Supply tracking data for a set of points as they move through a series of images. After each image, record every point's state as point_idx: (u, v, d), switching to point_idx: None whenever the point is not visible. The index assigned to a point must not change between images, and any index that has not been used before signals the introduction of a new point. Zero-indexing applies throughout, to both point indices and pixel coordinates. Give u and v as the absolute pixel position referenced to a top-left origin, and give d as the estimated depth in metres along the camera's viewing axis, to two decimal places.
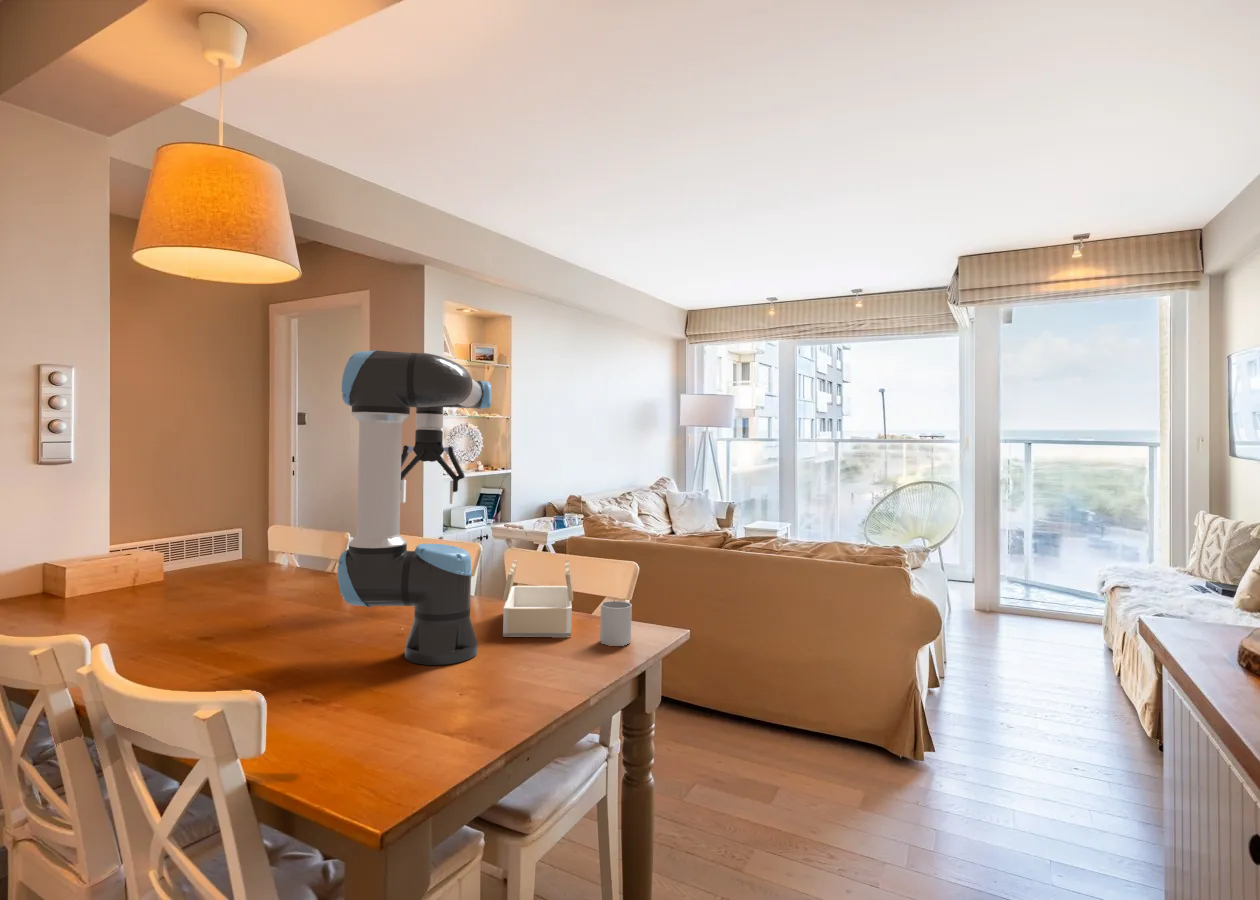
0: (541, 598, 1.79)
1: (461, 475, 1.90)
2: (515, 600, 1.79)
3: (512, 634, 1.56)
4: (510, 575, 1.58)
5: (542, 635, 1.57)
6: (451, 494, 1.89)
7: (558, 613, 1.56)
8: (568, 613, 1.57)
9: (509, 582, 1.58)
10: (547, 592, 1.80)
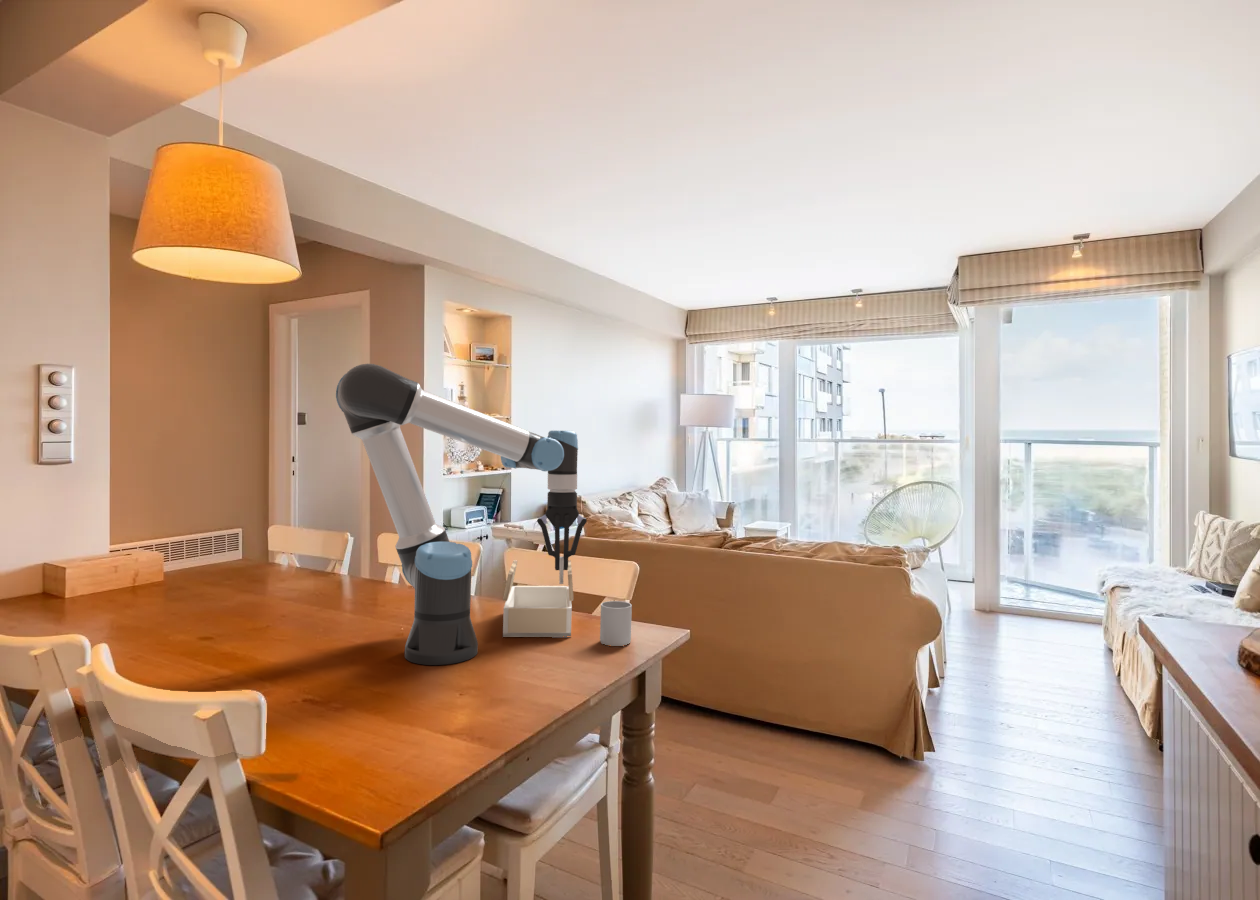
0: (541, 598, 1.79)
1: (574, 552, 1.68)
2: (515, 600, 1.79)
3: (512, 634, 1.56)
4: (510, 575, 1.58)
5: (542, 635, 1.57)
6: (562, 573, 1.68)
7: (558, 613, 1.56)
8: (568, 613, 1.57)
9: (509, 582, 1.58)
10: (547, 592, 1.80)
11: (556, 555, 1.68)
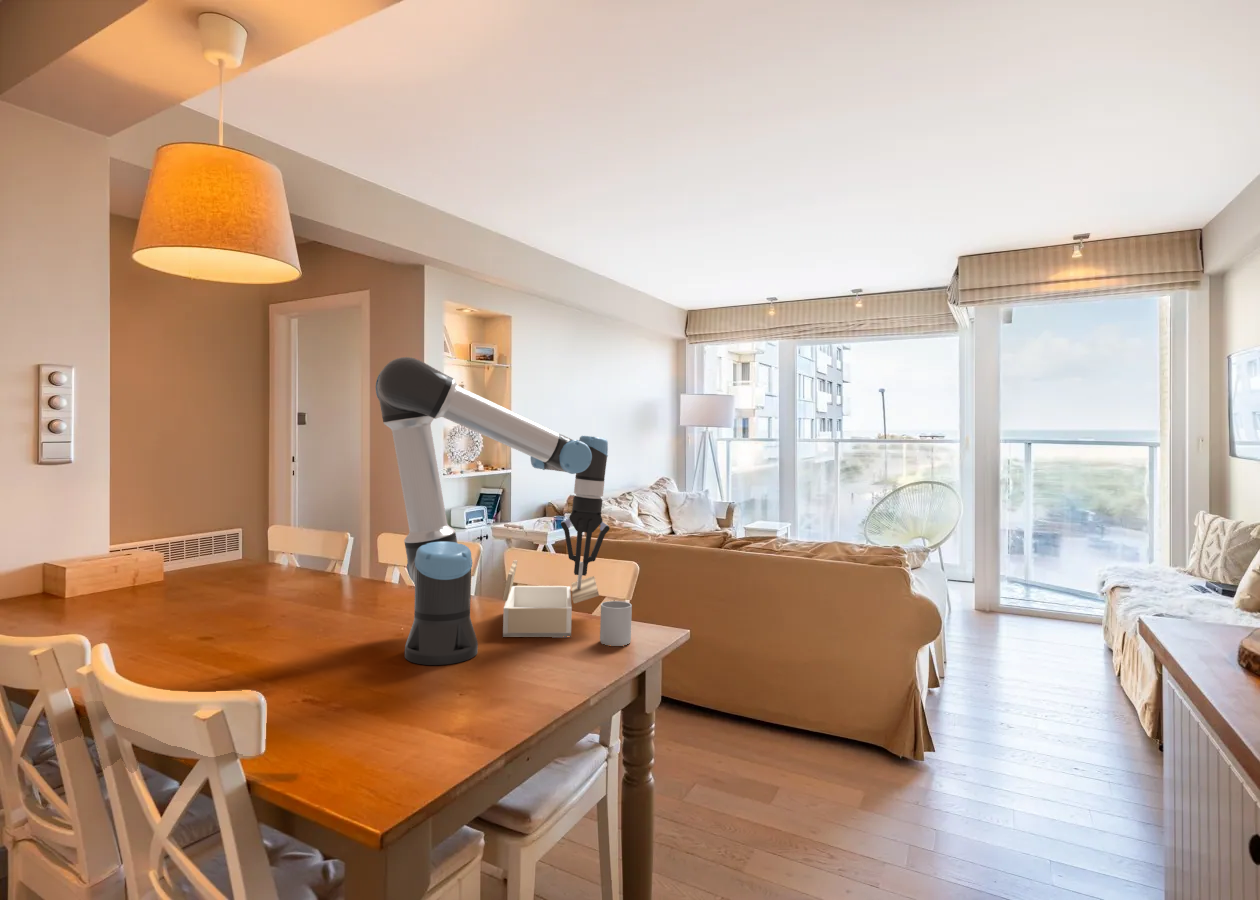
0: (541, 598, 1.79)
1: (594, 558, 1.69)
2: (515, 600, 1.79)
3: (512, 634, 1.56)
4: (510, 575, 1.58)
5: (542, 635, 1.57)
6: (580, 578, 1.68)
7: (558, 613, 1.56)
8: (568, 613, 1.57)
9: (509, 582, 1.58)
10: (547, 592, 1.80)
11: (576, 560, 1.68)
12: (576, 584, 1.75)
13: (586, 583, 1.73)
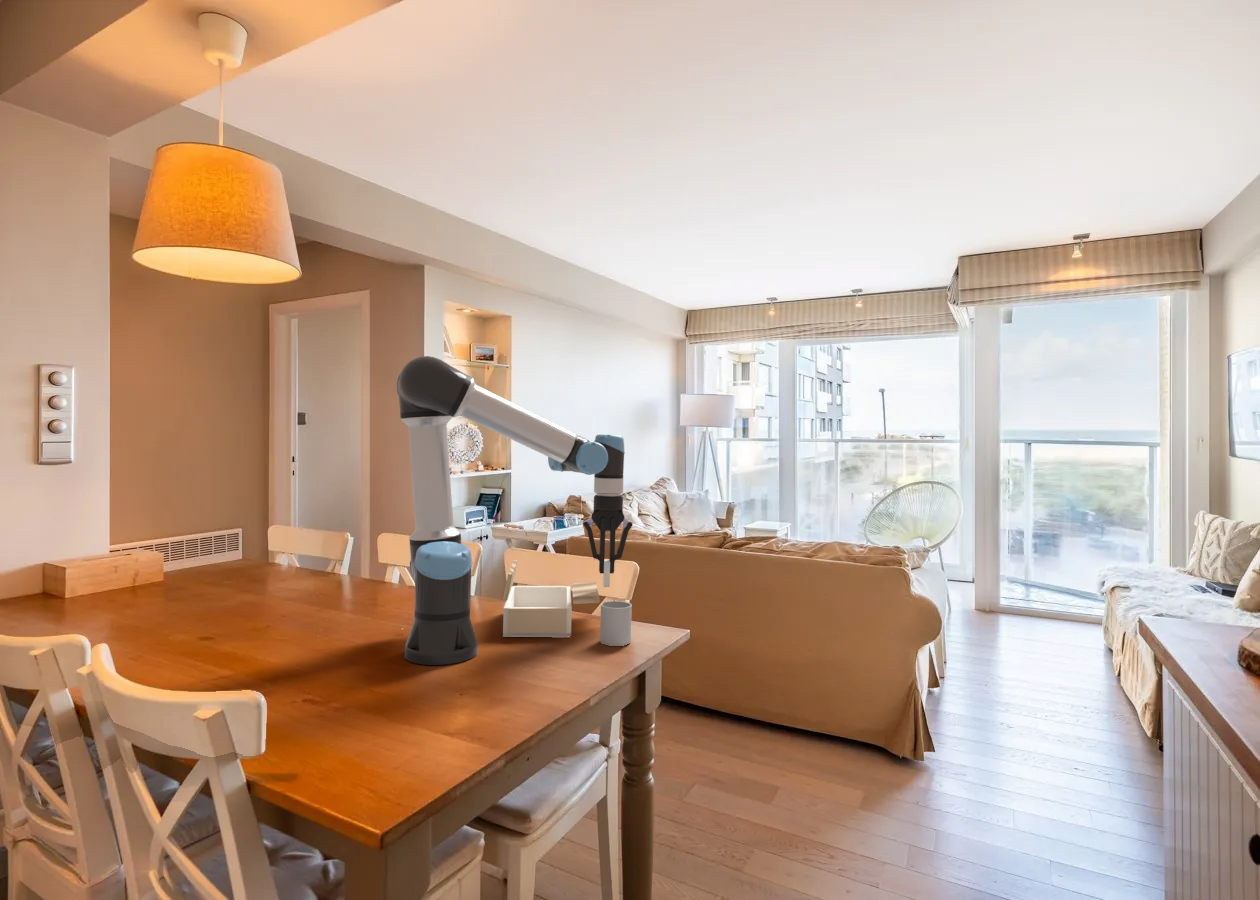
0: (541, 598, 1.79)
1: (620, 555, 1.69)
2: (515, 600, 1.79)
3: (512, 634, 1.56)
4: (510, 575, 1.58)
5: (542, 635, 1.57)
6: (608, 576, 1.69)
7: (558, 613, 1.56)
8: (568, 613, 1.57)
9: (509, 582, 1.58)
10: (547, 592, 1.80)
11: (601, 558, 1.69)
12: (577, 586, 1.75)
13: (587, 587, 1.73)
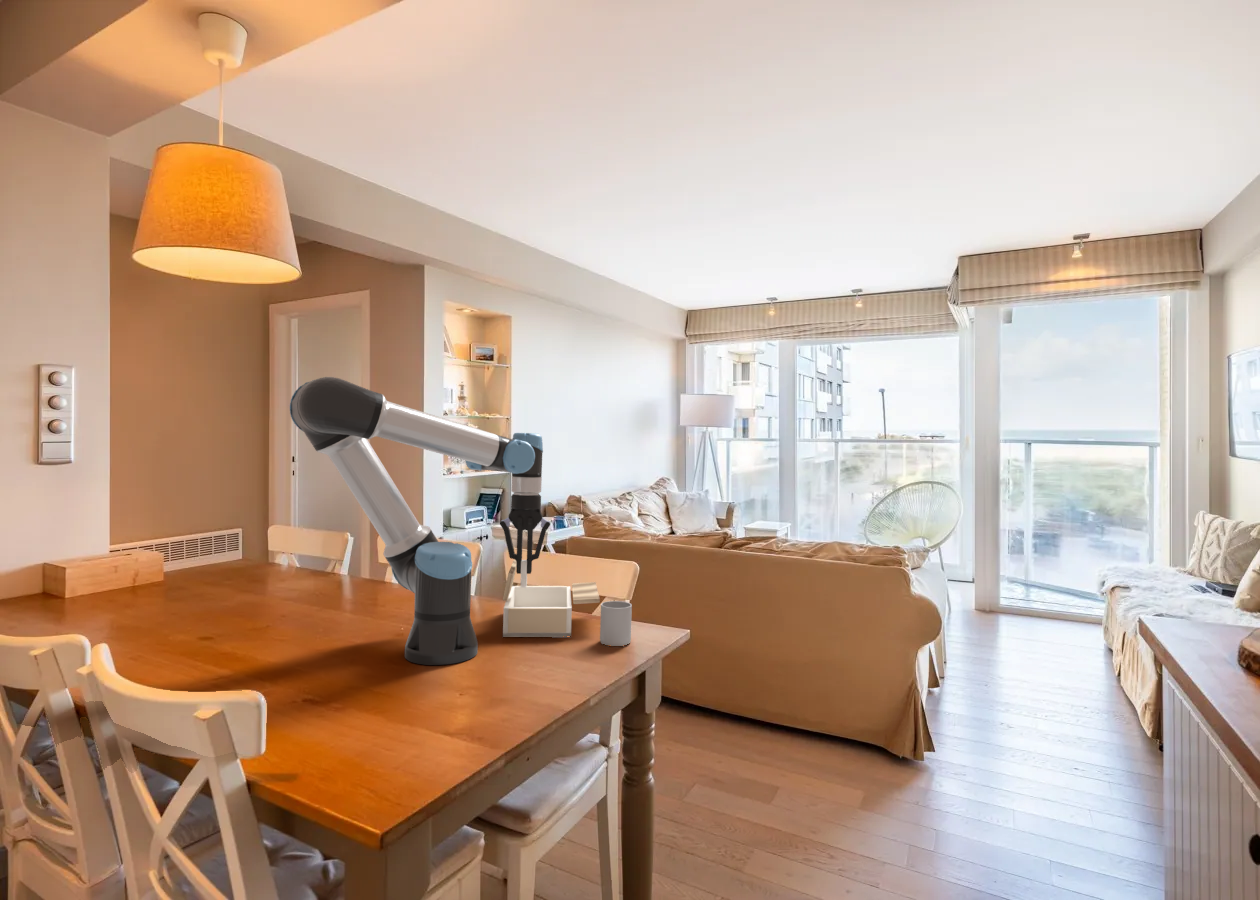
0: (541, 598, 1.79)
1: (537, 555, 1.67)
2: (515, 600, 1.79)
3: (512, 634, 1.56)
4: (510, 575, 1.58)
5: (542, 635, 1.57)
6: (525, 576, 1.67)
7: (558, 613, 1.56)
8: (568, 613, 1.57)
9: (509, 582, 1.58)
10: (547, 592, 1.80)
11: (517, 558, 1.66)
12: (577, 586, 1.75)
13: (587, 587, 1.73)
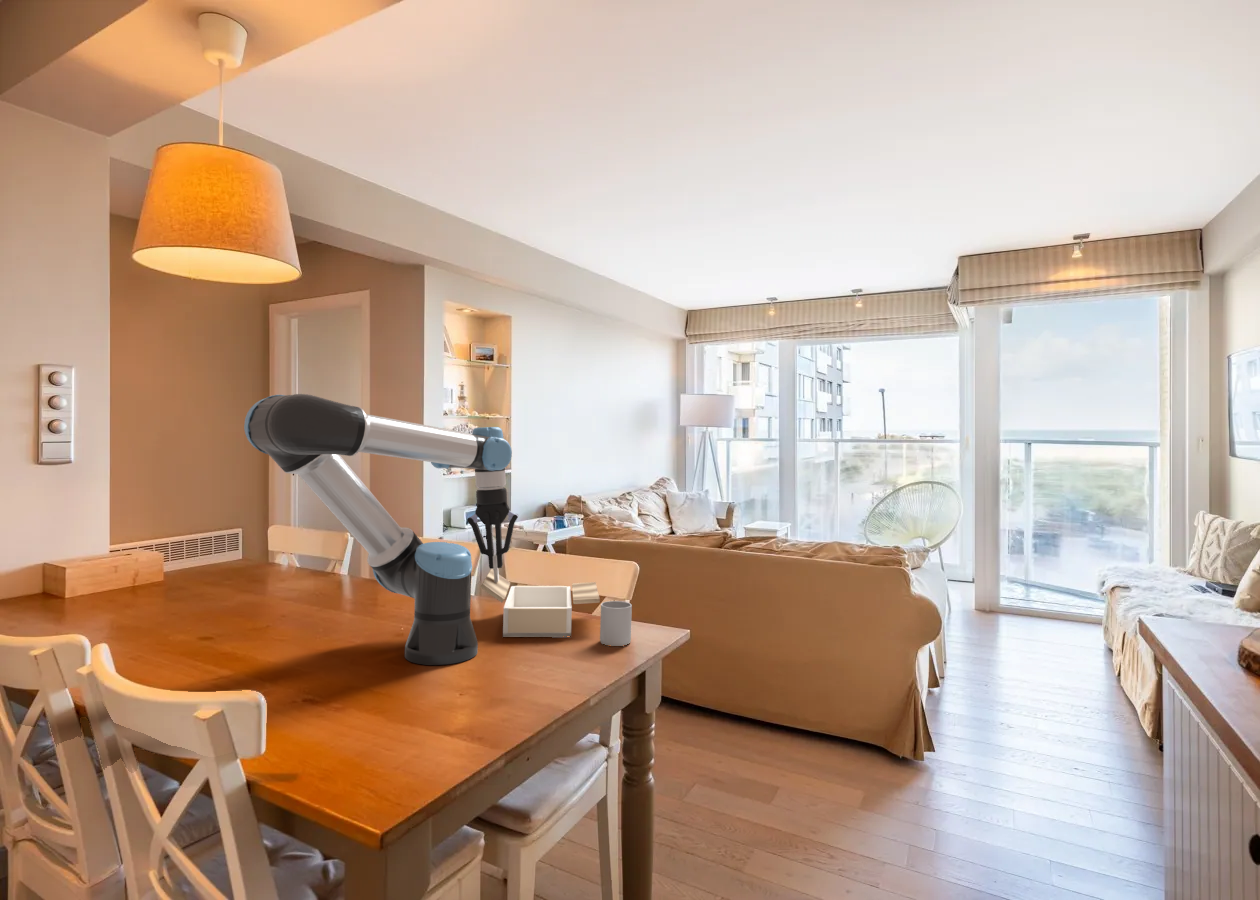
0: (541, 598, 1.79)
1: (506, 549, 1.66)
2: (515, 600, 1.79)
3: (512, 634, 1.56)
4: (482, 585, 1.58)
5: (542, 635, 1.57)
6: (496, 571, 1.66)
7: (558, 613, 1.56)
8: (568, 613, 1.57)
9: (488, 589, 1.58)
10: (547, 592, 1.80)
11: (489, 553, 1.66)
12: (577, 586, 1.75)
13: (587, 587, 1.73)
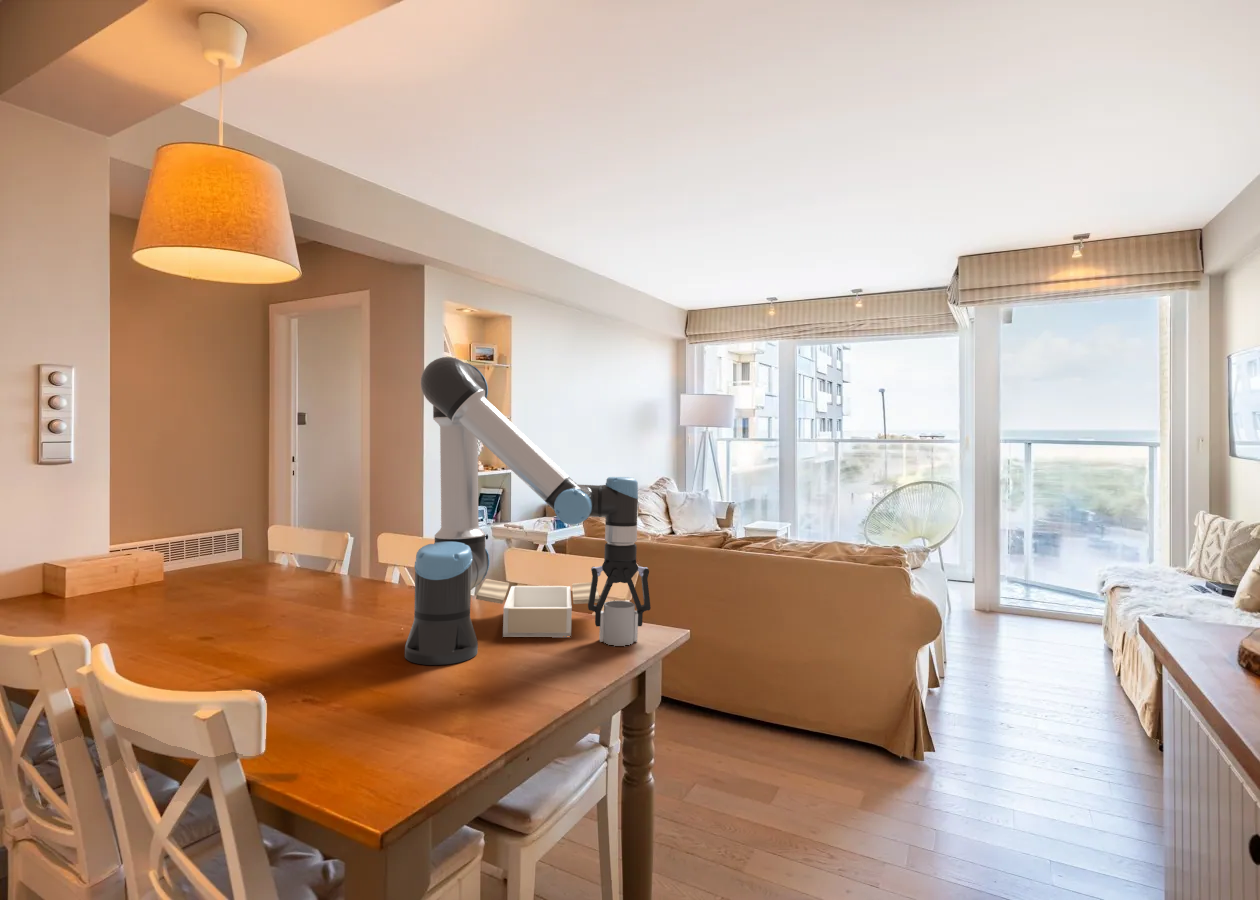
0: (541, 598, 1.79)
1: (648, 606, 1.55)
2: (515, 600, 1.79)
3: (512, 634, 1.56)
4: (477, 596, 1.57)
5: (542, 635, 1.57)
6: (636, 630, 1.55)
7: (558, 613, 1.56)
8: (568, 613, 1.57)
9: (484, 597, 1.58)
10: (547, 592, 1.80)
11: (597, 610, 1.54)
12: (577, 586, 1.75)
13: (587, 587, 1.73)
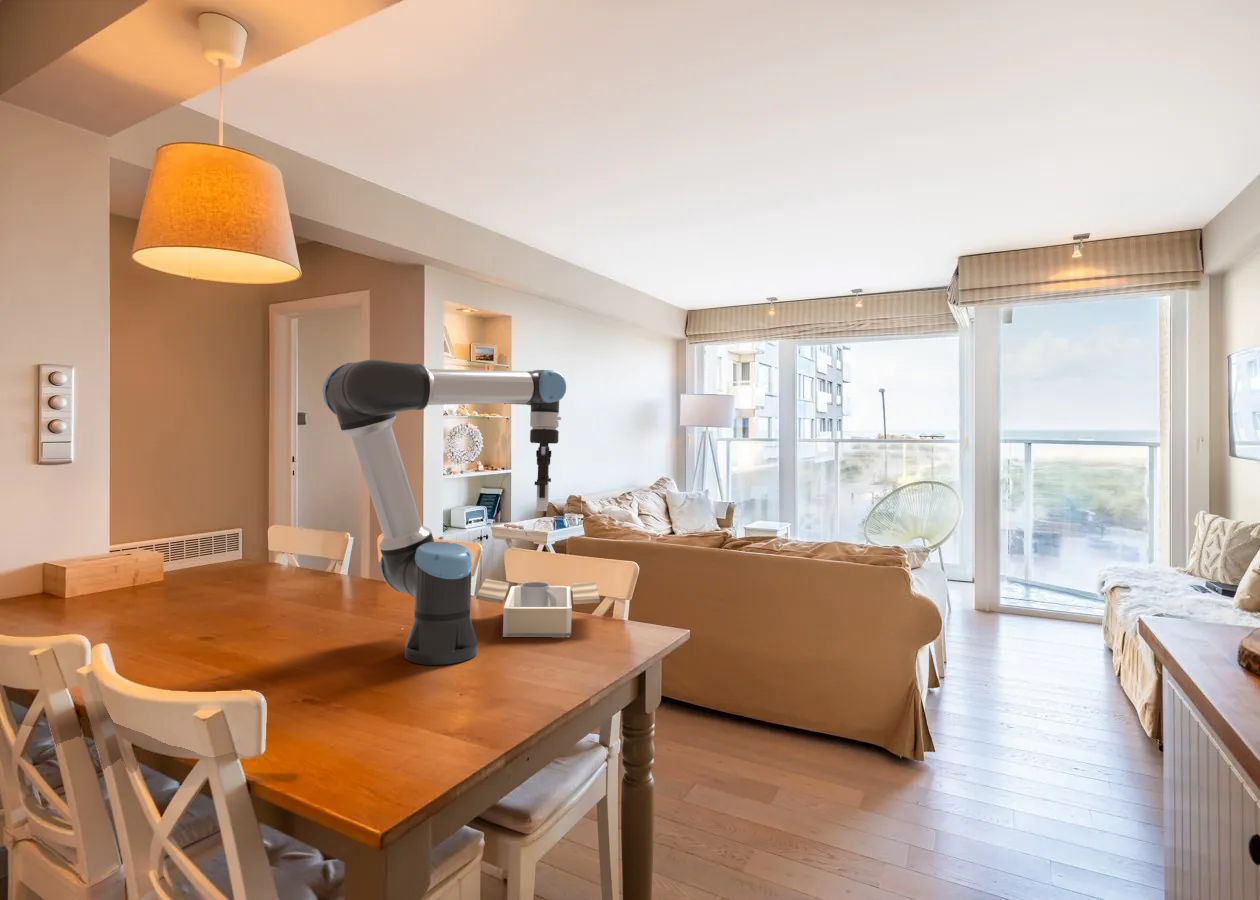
0: None
1: (537, 479, 1.67)
2: (515, 600, 1.79)
3: (512, 634, 1.56)
4: (477, 596, 1.57)
5: (542, 635, 1.57)
6: None
7: (558, 613, 1.56)
8: (568, 613, 1.57)
9: (484, 597, 1.58)
10: None
11: None
12: (577, 586, 1.75)
13: (587, 587, 1.73)
